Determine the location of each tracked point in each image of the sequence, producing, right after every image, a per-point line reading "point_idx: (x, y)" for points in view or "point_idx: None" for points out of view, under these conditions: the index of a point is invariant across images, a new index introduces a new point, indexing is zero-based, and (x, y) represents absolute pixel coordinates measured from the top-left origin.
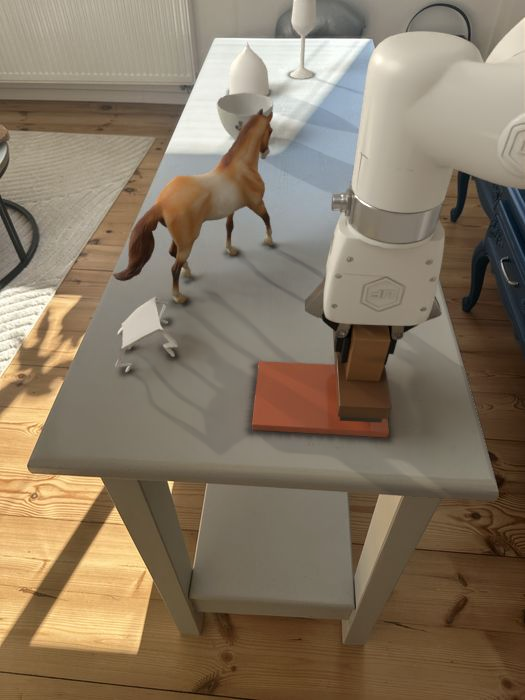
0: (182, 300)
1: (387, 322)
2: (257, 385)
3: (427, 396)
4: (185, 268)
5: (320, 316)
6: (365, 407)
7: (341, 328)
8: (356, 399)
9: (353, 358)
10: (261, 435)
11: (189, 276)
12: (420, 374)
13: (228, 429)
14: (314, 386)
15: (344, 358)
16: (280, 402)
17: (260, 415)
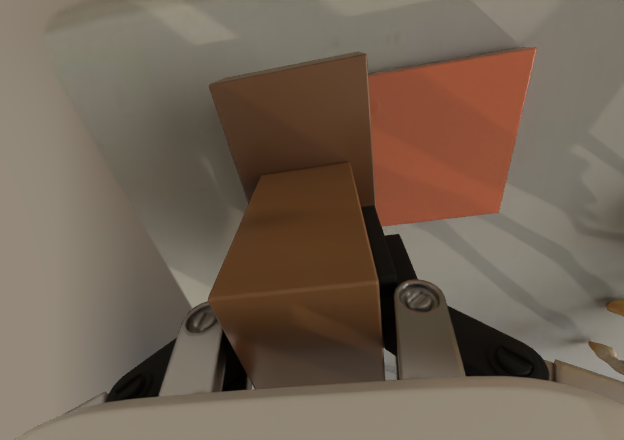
0: (618, 304)
1: (201, 432)
2: (510, 156)
3: (193, 200)
4: (613, 358)
5: (549, 369)
6: (285, 69)
7: (434, 322)
8: (315, 95)
9: (350, 209)
10: (503, 36)
11: (594, 343)
12: (214, 238)
13: (579, 35)
14: (392, 177)
15: (369, 216)
16: (464, 124)
17: (513, 78)
